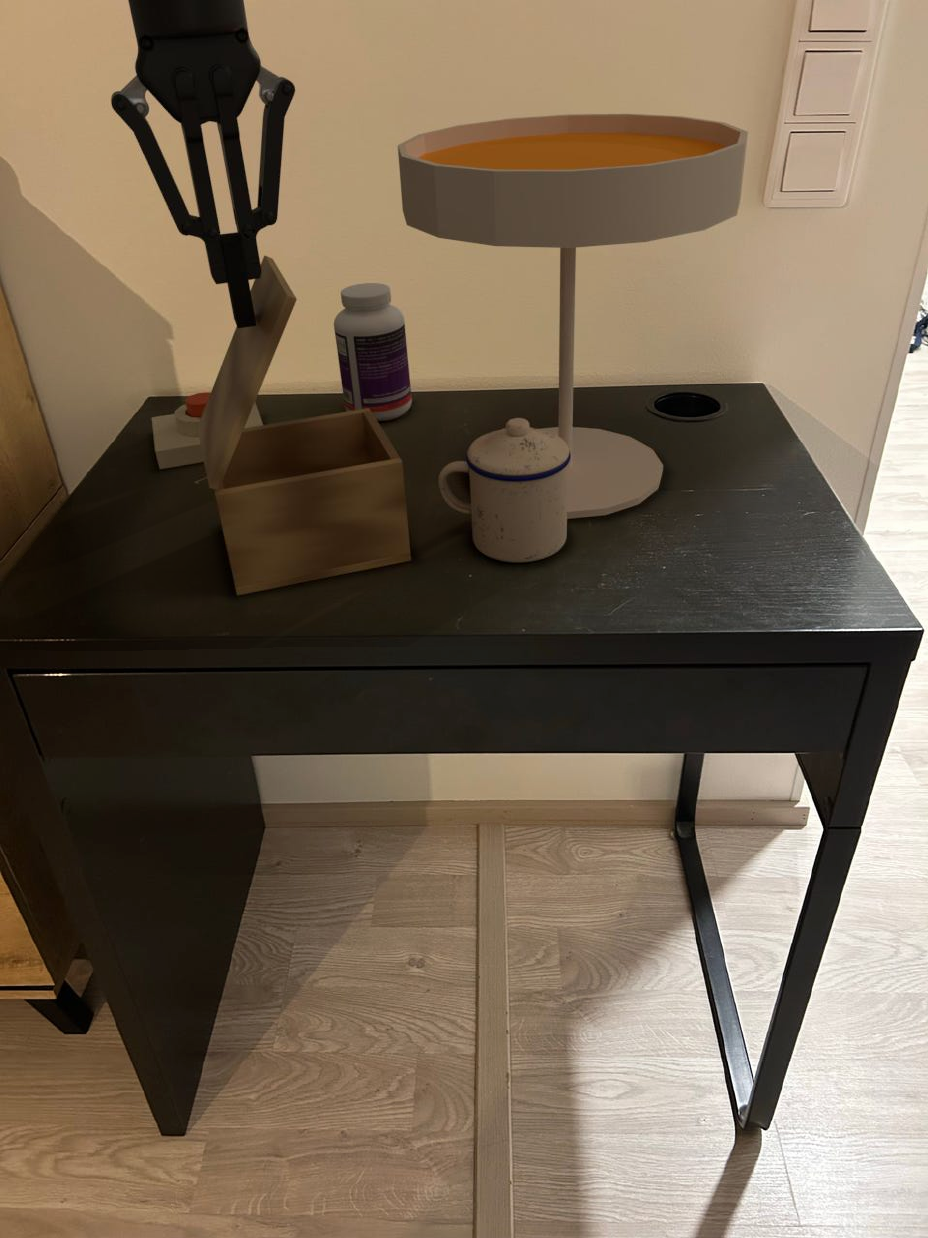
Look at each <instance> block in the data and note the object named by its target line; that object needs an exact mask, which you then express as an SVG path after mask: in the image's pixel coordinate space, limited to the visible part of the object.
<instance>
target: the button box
mask: <svg viewBox="0 0 928 1238" xmlns="http://www.w3.org/2000/svg"><path fill="white" fill-rule="evenodd" d="M173 412H174V413H171V414H165V415H158V416H152V417H151V426H152V427H151V428H152V435H153V445H154V452H155V456H156V461H157V465H158V469H159V470H164V469H170V468H171V469H172V468H177V467H183V466H189V465H195V464H201V463H204V460H203V455H202V450H201V445H200V441H199V436H198V431H197V427H198V424H199V422H200V419H201V417H190V416H189V415H188V411H187V407H186V403H185V404H182V405H181V406H179V407H178V408H177V409H176V410H174V411H173ZM262 425H264V423H263V420H262V417H261V415H260V412H259V409H258V407H257V404H256V402H255V403H254V405H253V407H252V410H251V412H250V415H249V417H248V420H247V422H246V425H245V427H244V428H250V427H256V426H262Z"/></svg>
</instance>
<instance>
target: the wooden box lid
mask: <svg viewBox="0 0 928 1238" xmlns="http://www.w3.org/2000/svg"><path fill="white" fill-rule="evenodd" d="M260 265H261V271H262V272H261V277H260V279H254V280H253V284H252V285H251V287H250V291H251V297H252V303H253V308H254V314H255V320H256V325H257V326H251V327H244V328H237V326H236V327H235V330H234V332H233V335H232V337H231V339H230V343H229V344H228V348H227V350H226V352H225V356H224V358H223V360H222V363H221V365H220V368H219V371H218V373H217V376H216V378H215V380H214V384H213V386H212V389H211V391H210V393H211V394H210V396H209V399H208V401H207V404H206V407H205V409H204V412H203V414H202V417H201V419H200V422H199V424H198V427H197V431H198V436H199V441H200V445H201V450H202V455H203V460H204V462H203V465H204V468H205V473H206V478H207V483H208V488H209V489H213V490H214V489H215V490H219V488H220V486H221V483H222V481H223V478H224V476H225V473H226V471H227V468H228V466H229V464H230V461H231V459H232V456H233V454H234V451H235V449H236V447H237V444H238V442H239V439H240V437H241V434H242V432H243V429H244V427H245V425H246V422H247V420H248V417H249V415H250V412H251V410H252V407H253V405H254V403H256V400H257V398H258V395H259V392H260V390H261V388H262V385H263V383H264V382H265V378H266V376H267V373H268V371H269V368H270V366H271V364H272V361H273V359H274V356H275V354H276V351H277V349H278V346H279V344H280V342H281V339H282V337H283V334H284V332H285V329H286V327H287V324H288V322H289V320H290V318H291V315H292V312H293V310H294V307H295V306H296V302H297V300H298V299H297V297H296V295H295V293H294V292H293V290H292V289H291V287H290V285H289V284H288V282H287V279H286V278H285V277H284V275H283V273H282V271H281V270H280V269H279V267H278V265H277V264H276V262H275V260H274V258H272V257H270V256H267V255H263V258H262V260H261V262H260Z"/></svg>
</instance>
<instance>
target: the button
mask: <svg viewBox="0 0 928 1238" xmlns="http://www.w3.org/2000/svg"><path fill="white" fill-rule="evenodd" d="M210 394H211V391H210V392H209V391H208V392H207V391H203V392H198V393H194V394H190V395H188V396H187V397H186V398H185V399H184V402H185V404H186V407H187V411H188V415H189V416H190V417H202V414H203V412H204V409H205V407H206V404H207V401H208V399H209V396H210Z"/></svg>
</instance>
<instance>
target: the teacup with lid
mask: <svg viewBox="0 0 928 1238" xmlns="http://www.w3.org/2000/svg"><path fill="white" fill-rule="evenodd" d="M538 429H539V428H534V427H531V426H530V422H529V421H528V420H527V419H525V418H522V417H514V418H510V419H509V420H508V421H507V422H506V424H505V428H502V429H498V430H493V431H491V432H487V433H486V434H483V435H481V436H480V437H478V438H476V439H475V440H474V441H473V442H472V443H471V444H470V445H469V447H468V449H467V453H466V455H465V460H463V461H462V460H458V461H457V460H456V461H452V462H449V463H448V464H446V465H445V466H444V467H443V468H442V469H441V471H440V473H439V475H438V479H437V481H438V482H437V483H438V484H437V485H438V489H439V493H440V495H441V497H442V499H443V500H444V502H445V503H446V504H447V505H448V506H449V507H450V508H451V509H453V510H454V511H456V512H458V513H460V514H463V515H469V516H471V530H472V533H471V534H472V542H473V543H474V546H475V548H476V550H478V551H479V552H480V553H481V554H483V555H484V556H486V557H488V558H491V559H494V560H495V561H496V560H497V561H500V562H507V563H529V562H530V563H531V562H536V561H540V560H543V559H546V558H548V557H552V556H553V555H555V554H556V553H557V552H559V551H560V550H561V549H562V548H563V546H565V543H566V542H567V538H568V537H567V536H568V535H567V533H568V532H567V531H568V519H567V481H568V463H569V462H570V458H571V454H570V451H569V448H568V446H567V444H566V443H565V441H564V440H563V439H561V438H560V437H559V436H557V435H555V434H553V433H550V432H547V431H543V430H538ZM452 473H465V474H466V473H467V474H469V473H470V476H469V489H470V491H469V492H470V503H468V502H464V501H462V500H460V499H459V498H458V497H456V496H455V494H454V493H453V492H452V489H451V488H450V485H449V480H448V479H449V475H450V474H452Z"/></svg>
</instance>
